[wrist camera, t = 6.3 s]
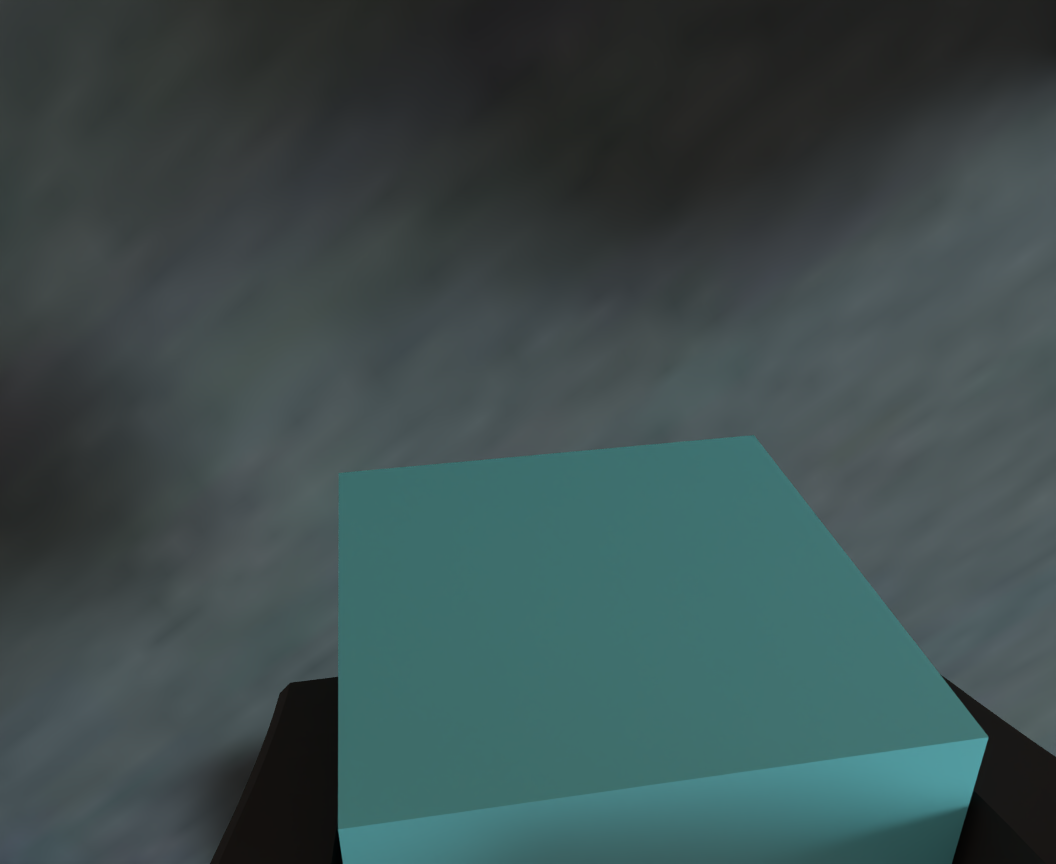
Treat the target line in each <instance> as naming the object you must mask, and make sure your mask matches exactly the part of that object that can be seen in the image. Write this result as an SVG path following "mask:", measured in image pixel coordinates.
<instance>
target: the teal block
mask: <svg viewBox="0 0 1056 864" xmlns="http://www.w3.org/2000/svg"><path fill="white" fill-rule="evenodd" d="M988 738H989V737H988V736H987V734H986V733H985V732H984V730H983V729H982V728H981V727H980V725H979V724H978V723H977V721H976V720H975V719H974V718H973V716H972V715H971V714H970V712H969V711H968V710H967V709H966V707H965V706H964V705H963V703H962V702H961V701H960V700H959V698H958V697H957V696H956V694H955V693H954V692H953V691H952V689H951V688H950V687H949V685H948V684H947V683H946V682H945V680H944V679H943V678H942V676H941V675H940V674H939V673H938V671H937V670H936V669H935V667H934V666H933V665H932V664H931V662H930V661H929V660H928V658H927V657H926V656H925V655H924V653H923V652H922V651H921V649H920V648H919V647H918V646H917V644H916V643H915V642H914V640H913V639H912V638H911V637H910V635H909V634H908V633H907V631H906V630H905V629H904V628H903V626H902V625H901V624H900V622H899V621H898V620H897V619H896V617H895V616H894V615H893V613H892V612H891V611H890V610H889V608H888V607H887V606H886V604H885V603H884V602H883V601H882V599H881V598H880V597H879V595H878V594H877V593H876V592H875V590H874V589H873V588H872V586H871V585H870V584H869V583H868V581H867V580H866V579H865V577H864V576H863V575H862V574H861V572H860V571H859V570H858V568H857V567H856V566H855V565H854V563H853V562H852V561H851V559H850V558H849V557H848V556H847V554H846V553H845V552H844V550H843V549H842V548H841V547H840V545H839V544H838V543H837V541H836V540H835V539H834V538H833V536H832V535H831V534H830V532H829V531H828V530H827V529H826V527H825V526H824V525H823V523H822V522H821V521H820V520H819V518H818V517H817V516H816V514H815V513H814V512H813V511H812V509H811V508H810V507H809V505H808V504H807V503H806V502H805V500H804V499H803V498H802V497H801V495H800V494H799V493H798V491H797V490H796V489H795V488H794V486H793V485H792V484H791V482H790V481H789V480H788V479H787V477H786V476H785V475H784V473H783V472H782V471H781V470H780V468H779V467H778V466H777V464H776V463H775V462H774V461H773V459H772V458H771V457H770V455H769V454H768V453H767V452H766V450H765V449H764V448H763V446H762V445H761V444H760V443H759V441H758V440H757V439H756V437H755V436H754V435H751V436H740V437H729V438H718V439H707V440H696V441H685V442H674V443H663V444H652V445H641V446H631V447H620V448H609V449H598V450H587V451H576V452H565V453H554V454H543V455H532V456H521V457H510V458H499V459H488V460H477V461H466V462H455V463H444V464H433V465H422V466H411V467H400V468H389V469H378V470H367V471H356V472H345V473H339V615H338V833H339V840H340V847H341V853H342V860H343V864H952V861H953V857H954V854H955V851H956V847H957V844H958V840H959V837H960V834H961V830H962V827H963V823H964V820H965V816H966V813H967V810H968V806H969V803H970V799H971V796H972V793H973V789H974V786H975V782H976V779H977V775H978V772H979V769H980V765H981V762H982V758H983V755H984V752H985V748H986V745H987V741H988Z"/></svg>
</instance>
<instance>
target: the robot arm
mask: <svg viewBox="0 0 1056 864" xmlns="http://www.w3.org/2000/svg"><path fill="white" fill-rule="evenodd" d="M941 676H942V675H941ZM942 678H943V679H944V680H945V682H946V683H947V684H948V685H949V687H950V688H951V689H952V691H953V692H954V693H955V694H956V696H957V697H958V698H959V700H960V701H961V702H962V703H963V705H964V706H965V707H966V709H967V710H968V711H969V712H970V714H971V715H972V716H973V718H974V719H975V720H976V721H977V723H978V724H979V725H980V727H981V728H982V729H983V730H984V732H985V733H986V734H987V736H988V737H989V738H988V741H987V745H986V748H985V752H984V755H983V758H982V762H981V765H980V769H979V772H978V775H977V779H976V782H975V786H974V789H973V793H972V796H971V799H970V803H969V806H968V810H967V813H966V816H965V820H964V823H963V827H962V830H961V834H960V837H959V840H958V844H957V847H956V851H955V854H954V857H953V861H952V864H1056V757H1055V756H1053V755H1052V754H1050V753H1049V752H1048V751H1046V750H1045V749H1043V748H1042V747H1040V746H1039V745H1037V744H1036V743H1035V742H1033V741H1032V740H1030V739H1029V738H1027V737H1026V736H1025V735H1023V734H1022V733H1020V732H1019V731H1018V730H1016V729H1015V728H1013V727H1012V726H1011V725H1009V724H1008V723H1006V722H1005V721H1003V720H1002V719H1001V718H999V717H998V716H997V715H995V714H994V713H992V712H991V711H990V710H988V709H987V708H985V707H984V706H983V705H981V704H980V703H979V702H977V701H976V700H974V699H973V698H972V697H970V696H969V695H968V694H966V693H965V692H964V691H962V690H961V689H959V688H958V687H957V686H955V685H954V684H953V683H951V682H950V681H949V680H947V679H946V678H944V677H943V676H942ZM210 864H343V860H342V853H341V847H340V840H339V833H338V677H333V678H325V679H317V680H309V681H301V682H293V683H290V684H289V685H288V686H287V687H286V688H285V689H284V690H283V691H282V692H281V693H280V694H279V698H278V701H277V705H276V708H275V711H274V714H273V718H272V720H271V723H270V726H269V729H268V732H267V735H266V737H265V740H264V743H263V745H262V748H261V751H260V753H259V756H258V758H257V761H256V763H255V766H254V768H253V771H252V773H251V775H250V778H249V780H248V782H247V785H246V787H245V790H244V792H243V794H242V797H241V799H240V801H239V804H238V806H237V808H236V810H235V812H234V814H233V817H232V819H231V821H230V823H229V825H228V827H227V829H226V831H225V833H224V836H223V838H222V840H221V842H220V844H219V846H218V848H217V850H216V853H215V855H214V857H213V859H212V861H211V863H210Z"/></svg>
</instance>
